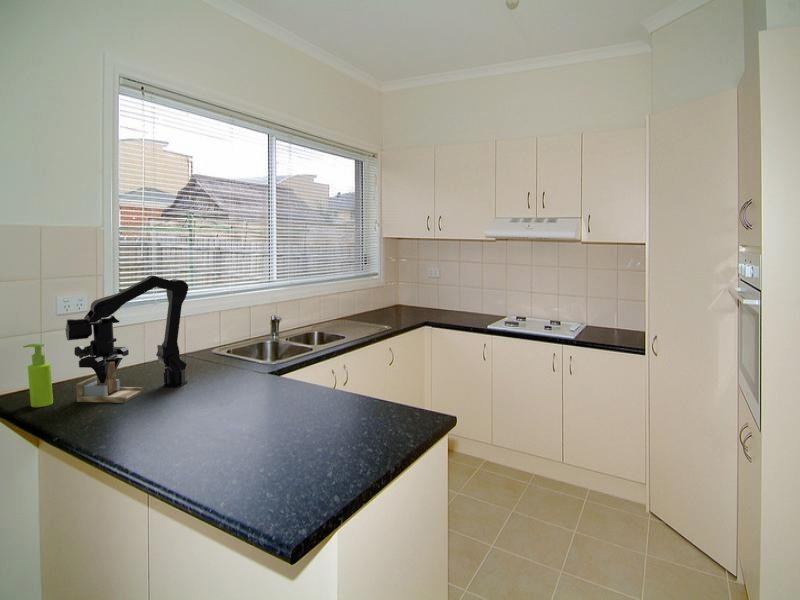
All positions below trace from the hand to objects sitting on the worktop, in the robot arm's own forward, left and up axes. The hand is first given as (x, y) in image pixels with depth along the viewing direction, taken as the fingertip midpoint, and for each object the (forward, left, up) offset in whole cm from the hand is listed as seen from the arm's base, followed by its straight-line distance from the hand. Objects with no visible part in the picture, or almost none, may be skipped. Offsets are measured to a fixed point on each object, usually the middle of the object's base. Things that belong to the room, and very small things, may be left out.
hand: (106, 381), depth 165 cm
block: (+2, 0, -4) cm, 5 cm away
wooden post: (0, 0, -4) cm, 4 cm away
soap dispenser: (+17, +9, -6) cm, 20 cm away
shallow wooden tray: (-1, 0, -6) cm, 6 cm away
